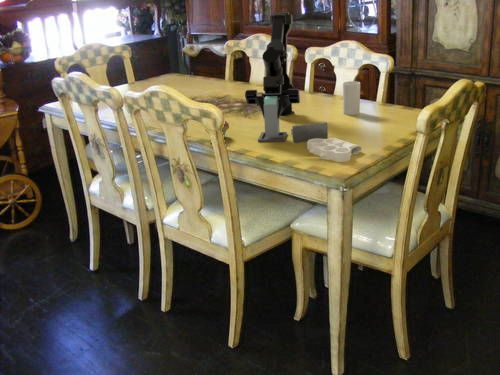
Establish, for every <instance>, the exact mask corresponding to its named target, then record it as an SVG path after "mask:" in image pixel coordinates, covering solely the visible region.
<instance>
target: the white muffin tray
mask: <svg viewBox="0 0 500 375" xmlns="http://www.w3.org/2000/svg"><path fill="white" fill-rule="evenodd" d="M306 146H307V147H306V150H307V151H308V153H309V154H312V155H314V156H318V157H319V158H320V159H321V160H327V161H328V160H329V161H333V162H336V163H344V162H345V163H346V162H349V161H350V160H351V156H353V155H358V154H360V153H361V151H362V150H363V148H362V146H360V145H358V144H354V143H352V142H349V141H347V140H343V139H340V138H338V137H330V138H329V137H328V139H319V138H316V139H310V140H308V141H306Z"/></svg>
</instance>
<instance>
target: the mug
mask: <svg viewBox="0 0 500 375" xmlns="http://www.w3.org/2000/svg"><path fill="white" fill-rule="evenodd" d="M342 106H343V107H342V110H343V111H342V112H343V115H345V116H357V115H359V114H360V106H361V82H360V81H357V80H355V81H354V80H352V81H351V80H349V81H344V82H342Z"/></svg>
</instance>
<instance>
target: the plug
mask: <svg viewBox="0 0 500 375" xmlns="http://www.w3.org/2000/svg"><path fill="white" fill-rule="evenodd" d="M278 108H279V105H278V100H277V96H266V97H265V98H264V117H263V120H264V132H265V136H278V135H279V132H281V131H280V129H281V128H280V117H279V118H278Z"/></svg>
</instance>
